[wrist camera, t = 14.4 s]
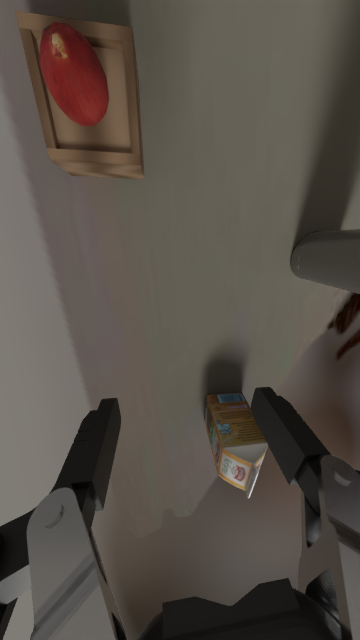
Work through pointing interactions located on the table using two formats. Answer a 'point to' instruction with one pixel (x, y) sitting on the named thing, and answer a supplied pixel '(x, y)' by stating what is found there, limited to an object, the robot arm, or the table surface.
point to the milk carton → (234, 439)
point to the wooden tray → (122, 113)
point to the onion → (73, 74)
